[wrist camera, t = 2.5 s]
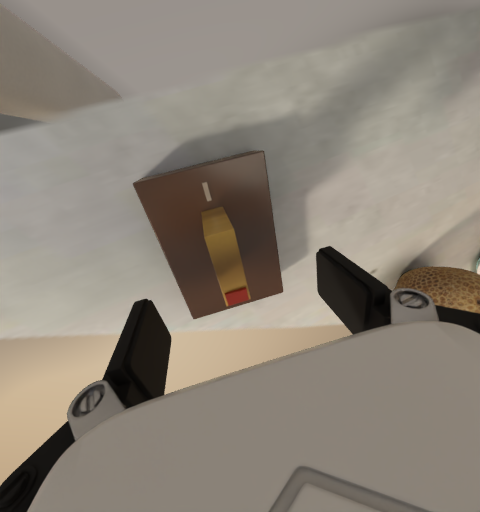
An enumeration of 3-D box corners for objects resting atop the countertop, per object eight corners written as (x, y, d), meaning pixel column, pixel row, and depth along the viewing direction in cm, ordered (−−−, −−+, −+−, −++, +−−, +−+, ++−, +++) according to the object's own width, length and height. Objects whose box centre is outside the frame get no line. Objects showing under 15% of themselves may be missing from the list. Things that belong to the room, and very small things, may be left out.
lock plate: (141, 178, 18) (131, 183, 15) (254, 150, 18) (264, 150, 16) (193, 301, 24) (193, 320, 22) (274, 277, 25) (284, 293, 22)
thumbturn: (201, 211, 17) (204, 238, 12) (222, 206, 17) (234, 229, 12) (218, 267, 19) (227, 308, 14) (237, 262, 20) (251, 301, 15)
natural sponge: (441, 274, 31) (538, 323, 22) (391, 312, 33) (462, 371, 24) (422, 238, 27) (532, 280, 18) (366, 284, 29) (442, 342, 20)
